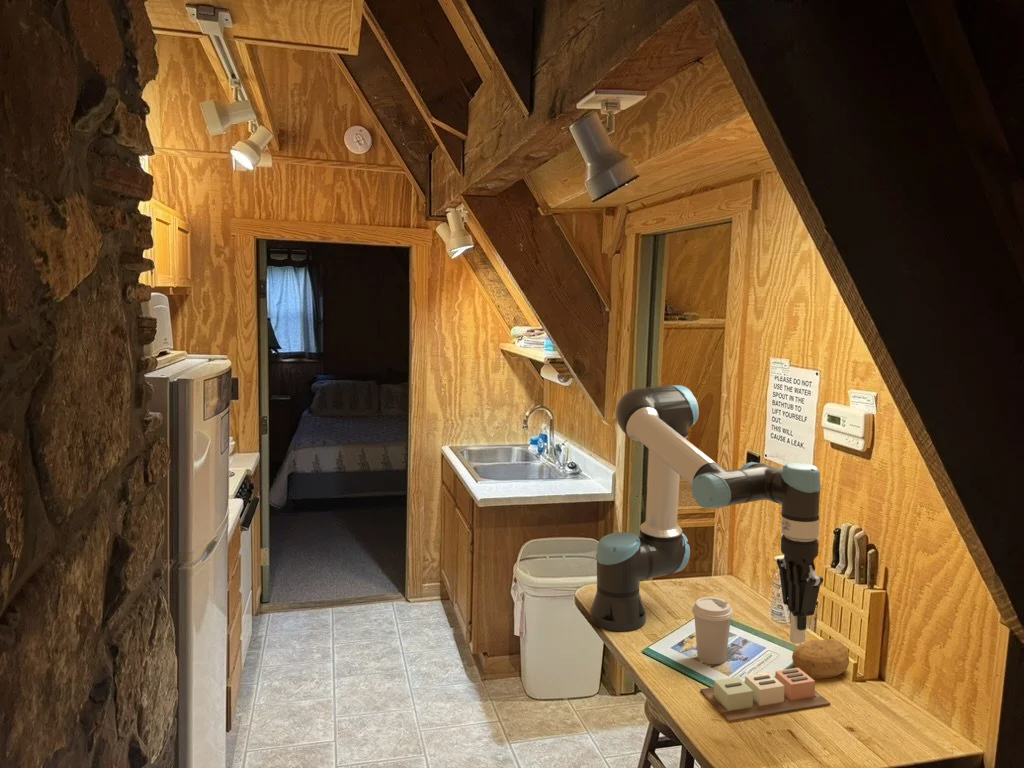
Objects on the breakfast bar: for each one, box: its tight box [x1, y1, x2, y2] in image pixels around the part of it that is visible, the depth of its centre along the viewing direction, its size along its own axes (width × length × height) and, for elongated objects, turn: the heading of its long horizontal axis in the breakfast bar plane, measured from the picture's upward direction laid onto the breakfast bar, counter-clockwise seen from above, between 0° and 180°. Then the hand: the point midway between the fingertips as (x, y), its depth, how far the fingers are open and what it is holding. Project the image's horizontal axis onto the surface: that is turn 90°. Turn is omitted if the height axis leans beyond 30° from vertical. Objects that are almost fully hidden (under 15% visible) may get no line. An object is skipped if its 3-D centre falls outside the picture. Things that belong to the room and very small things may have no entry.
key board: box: [699, 681, 831, 723], centre depth 154 cm, size 12×24×2 cm, turn 103°
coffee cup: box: [691, 596, 734, 665], centre depth 172 cm, size 10×10×15 cm
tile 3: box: [774, 667, 816, 701], centre depth 156 cm, size 6×6×4 cm
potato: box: [791, 638, 850, 679], centre depth 165 cm, size 10×14×8 cm
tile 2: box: [744, 672, 784, 706], centre depth 154 cm, size 6×6×4 cm
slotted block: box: [713, 676, 753, 711], centre depth 152 cm, size 6×6×4 cm
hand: (797, 641), depth 154 cm, fingers closed
